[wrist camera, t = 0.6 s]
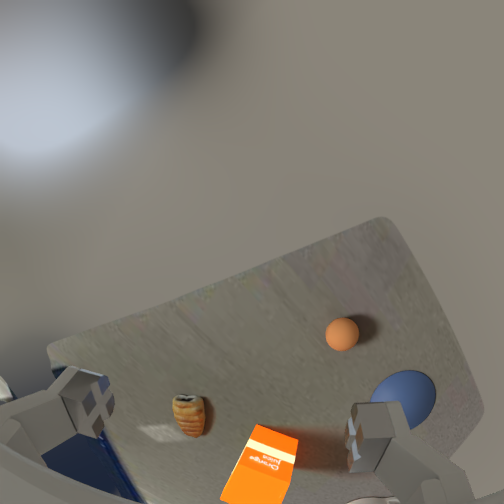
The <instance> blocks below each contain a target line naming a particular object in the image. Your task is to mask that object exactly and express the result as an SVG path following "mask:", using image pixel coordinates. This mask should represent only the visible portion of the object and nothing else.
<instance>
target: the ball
mask: <svg viewBox="0 0 504 504" xmlns="http://www.w3.org/2000/svg"><path fill="white" fill-rule="evenodd" d="M358 338H359V330H358V327H357V325H356V324H355V323H354V322H353V321H352V320H351V319H348V318H338V319H335V320H333V321H332V322H331V323H330V324H329V326H328V327H327V330H326V340H327V342H328V344H329V345H330V346H331V347H332V348H333V349H335V350H338V351H346V350H349V349H351V348H352V347H353V346H354V345H355V344H356V342H357V341H358Z"/></svg>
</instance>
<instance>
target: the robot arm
mask: <svg viewBox="0 0 504 504" xmlns="http://www.w3.org/2000/svg"><path fill="white" fill-rule="evenodd" d="M109 385H110V382H109V379H108V377H107V376H105V375H102V374H99V373H95V372H92V371H88V370H85V369H81V368H77V367H74V366H69V367H67V368H66V369H65V370H64V372H63V373H62V374H61V375H60V376H59V377H58V378H57V379H56V381H55V382H54V383H53V384H52V385H51V386H50V387H49V388H48V390H47V391H45V390H42V391H39V392H36V393H34V394H31V395H28V396H26V397H23V398H20V399H17V400H15V401H12V402H9V403H6V404H4V405H1V406H0V504H141V503H138V502H134V501H131V500H128V499H125V498H121V497H118V496H115V495H112V494H109V493H107V492H104V491H101V490H98V489H96V488H93V487H90V486H88V485H85V484H83V483H80V482H78V481H75V480H73V479H71V478H68V477H66V476H64V475H62V474H59V473H57V472H55V471H53V470H51V469H49V468H47V466H46V463H45V462H44V461H43V459H42V458H41V456H40V455H42V454H44V453H45V452H47V451H49V450H51V449H52V448H54V447H56V446H57V445H59V444H60V443H62V442H64V441H66V440H67V439H69V438H70V437H72V436H74V435H75V434H77V433H80V434H84V435H87V436H90V437H93V438H96V439H97V438H98V436H99V434H100V433H101V431H102V429H103V428H104V422H103V421H104V420H106V419H108V418H110V416H111V414H112V413H113V409H114V405H115V402H114V396H113V393H112V392H111V391H110V390H109V389H108V387H109ZM351 416H352V418H350V419H349V420H348V421H347V425H346V429H345V446H346V448H347V449H348V450H350V451H349V453H348V456H347V462H348V469H349V473H357V472H374V473H375V475H376V476H377V477H378V478H379V479H380V480H381V481H382V482H383V484H384V485H385V486H386V487H387V488H388V489H389V490H390V491H391V493H392V494H393V495H394V497H388V498H374V497H371V498H362V499H358V500H354V501H351V502H349V503H347V504H504V489H503V490H501V491H498V492H496V493H493V494H490V495H487V496H484V497H482V498H479V499H476V500H475V498H474V495H473V492H472V490H471V487H470V484H469V482H468V479H467V476H466V473H465V471H464V470H463V469H461V468H460V467H459V466H457V465H456V464H454V463H453V462H451V461H450V460H449V459H448V458H446V457H445V456H443V455H442V454H441V453H439V452H438V451H437V450H435V449H434V448H433V447H431V446H430V445H429V444H427V443H426V442H425V441H423V440H422V439H421V438H419V437H418V436H417V435H414V436H412V434H411V431H410V428H409V425H408V422H407V419H406V416H405V414H404V411H403V408H402V405H401V403H400V402H399V401H385V402H365V403H354V404H353V406H352V409H351Z"/></svg>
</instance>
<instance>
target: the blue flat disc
mask: <svg viewBox="0 0 504 504" xmlns="http://www.w3.org/2000/svg"><path fill="white" fill-rule="evenodd" d="M385 401H399V402H400V403H401V405H402V408H403V411H404V414H405V416H406V419H407V422H408V425H409V428H410V429H413V428H414V427H416V426H418V425H419V424H420V423H422V422H423V421H424V420H425V419H426V418H427V416H428V415H429V414H430V412H431V410H432V408H433V406H434V402H435V388H434V385H433V383H432V382H431V380H430V379H429V378H428V377H427V376H426V375H424V374H423V373H420V372H417V371H410V370H409V371H402V372H398V373H395V374H393V375H391V376H389V377H388V378H386V379H385V380H384V381H383V382H382V383H380V385H379V386H378V387H377V388H376V390H375V391H374V393H373V395H372V397H371V401H370V402H385Z"/></svg>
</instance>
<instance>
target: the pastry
mask: <svg viewBox="0 0 504 504" xmlns="http://www.w3.org/2000/svg"><path fill="white" fill-rule="evenodd" d="M204 409H205V408H204V403H203V399H202V398H201V397H198V396H185V395H177V396H175V397H174V398H173V412H174V416H175V419H176V421H177V422H178V424H179V426H180V428H181V429H182V431H183V432H184V433H185V434H186V435H188V436H192V437H195V438H197V437H199V436H200V435H201V434H202V433H203V428H204V423H205V419H206V418H205V412H204Z"/></svg>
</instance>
